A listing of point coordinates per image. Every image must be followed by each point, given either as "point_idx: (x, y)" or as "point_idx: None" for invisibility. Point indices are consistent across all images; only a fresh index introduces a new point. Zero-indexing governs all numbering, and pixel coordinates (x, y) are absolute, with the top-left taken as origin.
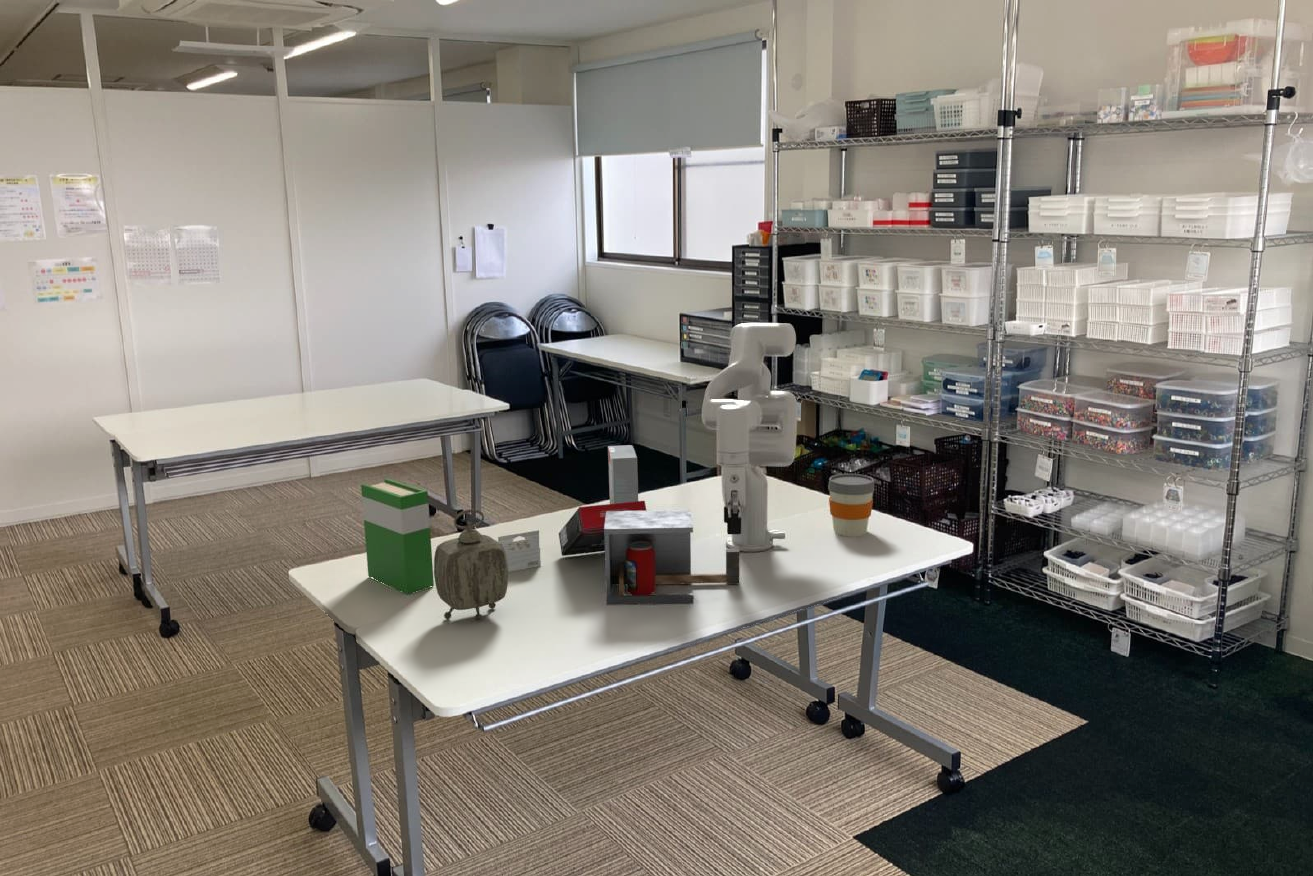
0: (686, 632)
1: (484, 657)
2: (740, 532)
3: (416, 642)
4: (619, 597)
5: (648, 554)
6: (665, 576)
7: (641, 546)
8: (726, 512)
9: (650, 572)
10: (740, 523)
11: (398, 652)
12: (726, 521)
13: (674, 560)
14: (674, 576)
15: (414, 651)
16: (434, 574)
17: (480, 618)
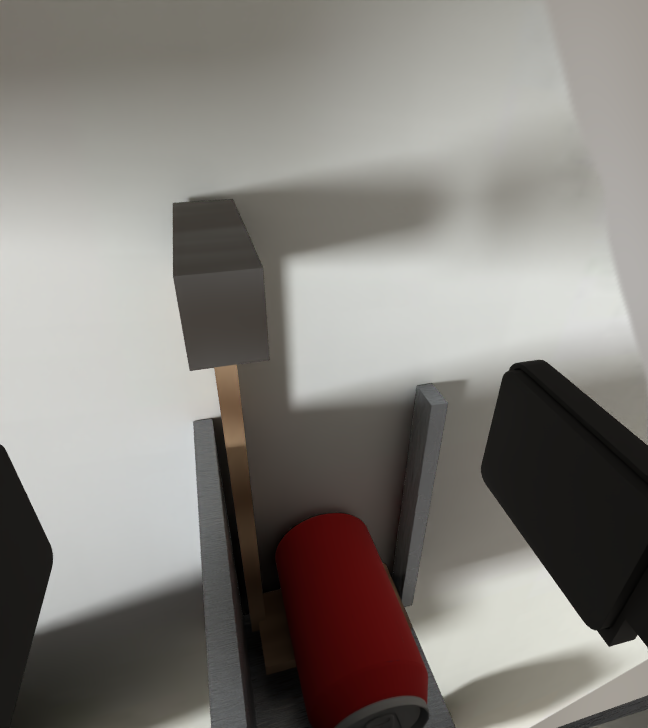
0: (640, 376)
1: (589, 646)
2: (545, 370)
3: (503, 723)
4: (414, 579)
5: (420, 669)
6: (253, 523)
7: (394, 723)
8: (7, 686)
9: (387, 588)
10: (630, 444)
11: (530, 720)
12: (41, 552)
13: (230, 555)
14: (251, 497)
15: (533, 711)
16: None
17: (449, 713)
